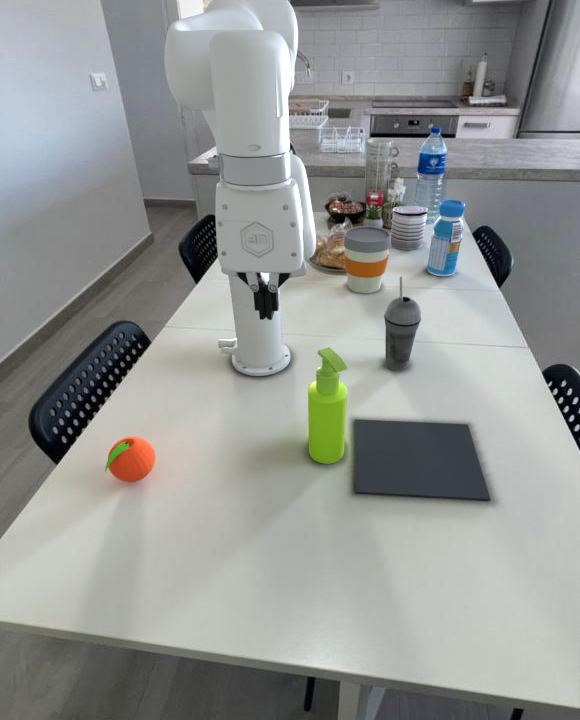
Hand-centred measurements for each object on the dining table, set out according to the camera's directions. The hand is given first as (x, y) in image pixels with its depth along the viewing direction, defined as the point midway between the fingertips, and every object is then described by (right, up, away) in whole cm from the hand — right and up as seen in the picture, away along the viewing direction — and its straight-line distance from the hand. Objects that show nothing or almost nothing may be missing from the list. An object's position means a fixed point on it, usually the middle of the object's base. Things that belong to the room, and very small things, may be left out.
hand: (267, 314), depth 60 cm
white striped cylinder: (+38, +33, +91) cm, 104 cm away
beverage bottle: (+45, +20, +73) cm, 88 cm away
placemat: (+23, -22, +14) cm, 35 cm away
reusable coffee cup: (+21, +15, +66) cm, 70 cm away
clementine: (-22, -25, +11) cm, 35 cm away
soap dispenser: (+9, -22, +15) cm, 28 cm away
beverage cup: (+24, -7, +35) cm, 43 cm away
